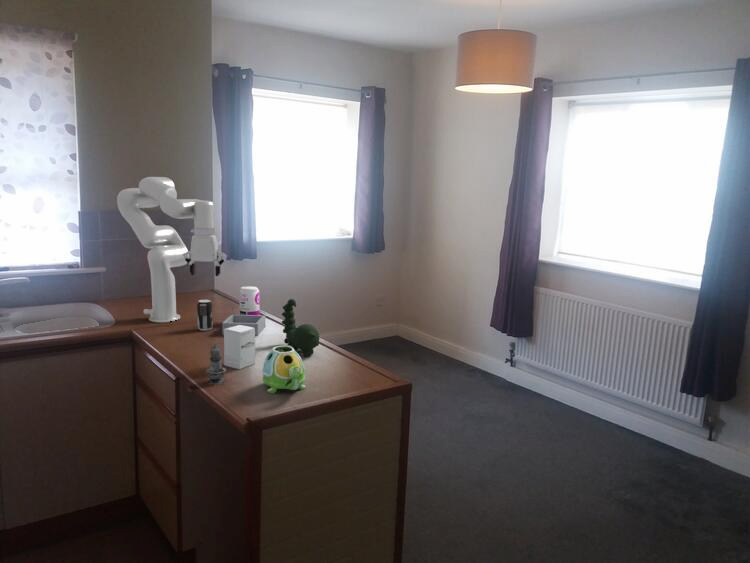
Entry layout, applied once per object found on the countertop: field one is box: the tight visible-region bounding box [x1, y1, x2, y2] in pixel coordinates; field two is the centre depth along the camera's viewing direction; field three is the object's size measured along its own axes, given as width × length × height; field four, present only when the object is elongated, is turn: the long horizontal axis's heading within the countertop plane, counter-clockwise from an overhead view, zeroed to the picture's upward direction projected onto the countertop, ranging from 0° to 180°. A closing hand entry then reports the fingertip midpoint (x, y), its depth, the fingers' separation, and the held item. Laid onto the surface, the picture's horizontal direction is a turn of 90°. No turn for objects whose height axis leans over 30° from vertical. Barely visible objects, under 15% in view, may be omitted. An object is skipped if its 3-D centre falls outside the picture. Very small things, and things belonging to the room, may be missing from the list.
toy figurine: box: [281, 298, 320, 357], centre depth 208 cm, size 9×19×25 cm
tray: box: [221, 314, 267, 337], centre depth 234 cm, size 14×14×5 cm
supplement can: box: [239, 285, 260, 315], centre depth 247 cm, size 8×8×15 cm
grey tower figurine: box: [205, 343, 227, 385], centre depth 176 cm, size 6×6×12 cm
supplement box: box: [223, 325, 256, 370], centre depth 192 cm, size 7×7×13 cm
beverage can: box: [196, 299, 214, 332], centre depth 234 cm, size 6×6×12 cm
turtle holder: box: [262, 345, 306, 394], centre depth 171 cm, size 12×18×12 cm
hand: (205, 275), depth 231 cm, fingers open, 9 cm apart
